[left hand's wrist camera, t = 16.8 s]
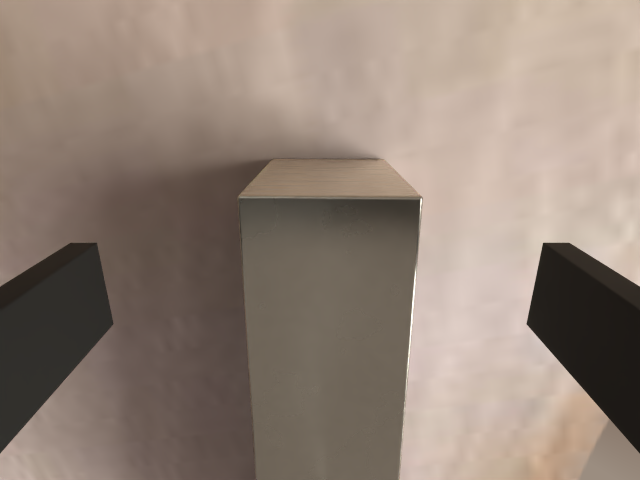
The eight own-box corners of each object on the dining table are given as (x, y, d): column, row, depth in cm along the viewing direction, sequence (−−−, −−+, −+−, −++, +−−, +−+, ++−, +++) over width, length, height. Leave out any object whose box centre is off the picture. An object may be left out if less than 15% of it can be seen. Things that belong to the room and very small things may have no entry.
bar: (271, 158, 20) (236, 195, 12) (385, 159, 20) (423, 196, 12) (284, 510, 27) (267, 674, 19) (366, 511, 27) (383, 676, 19)
